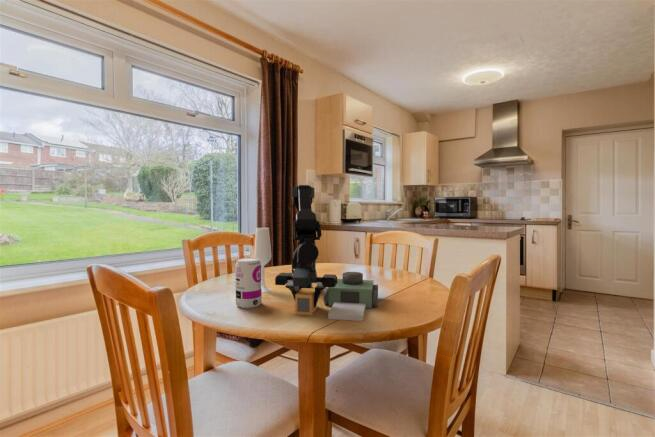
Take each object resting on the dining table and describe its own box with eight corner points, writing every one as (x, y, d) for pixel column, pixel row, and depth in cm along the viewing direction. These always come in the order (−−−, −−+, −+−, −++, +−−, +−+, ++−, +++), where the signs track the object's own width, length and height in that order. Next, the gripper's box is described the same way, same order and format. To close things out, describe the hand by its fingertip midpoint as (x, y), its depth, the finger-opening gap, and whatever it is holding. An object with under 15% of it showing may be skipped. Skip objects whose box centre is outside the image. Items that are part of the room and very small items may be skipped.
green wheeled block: (315, 318, 97) (315, 287, 96) (330, 294, 121) (330, 270, 121) (375, 321, 94) (375, 290, 93) (378, 297, 118) (378, 272, 118)
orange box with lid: (295, 314, 100) (295, 294, 100) (302, 306, 108) (302, 287, 108) (311, 315, 99) (311, 295, 99) (317, 307, 108) (317, 288, 107)
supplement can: (266, 302, 112) (265, 258, 111) (252, 310, 104) (252, 262, 104) (245, 300, 115) (244, 257, 114) (230, 307, 107) (230, 261, 106)
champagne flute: (273, 288, 131) (272, 227, 130) (270, 292, 124) (270, 228, 123) (255, 288, 131) (255, 227, 130) (252, 292, 124) (251, 228, 123)
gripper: (268, 260, 97) (269, 313, 98) (331, 262, 94) (331, 317, 94) (280, 255, 108) (280, 302, 109) (337, 256, 105) (337, 305, 105)
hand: (306, 307), depth 104 cm, fingers closed on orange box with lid, 5 cm apart
